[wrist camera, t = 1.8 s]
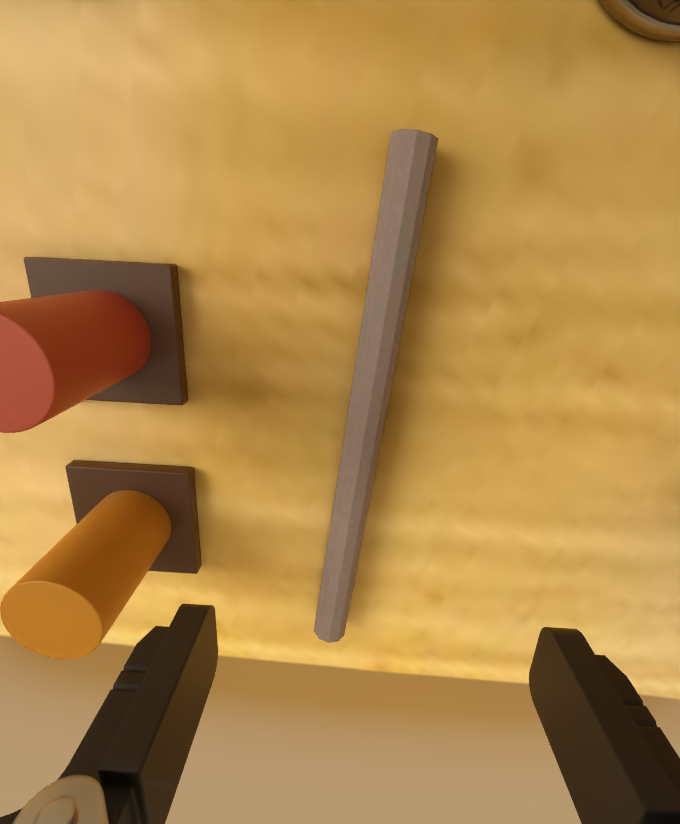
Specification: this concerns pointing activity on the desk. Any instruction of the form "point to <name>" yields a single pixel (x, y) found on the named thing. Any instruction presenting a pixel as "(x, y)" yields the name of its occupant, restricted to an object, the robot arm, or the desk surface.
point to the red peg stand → (90, 339)
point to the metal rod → (374, 366)
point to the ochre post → (104, 555)
